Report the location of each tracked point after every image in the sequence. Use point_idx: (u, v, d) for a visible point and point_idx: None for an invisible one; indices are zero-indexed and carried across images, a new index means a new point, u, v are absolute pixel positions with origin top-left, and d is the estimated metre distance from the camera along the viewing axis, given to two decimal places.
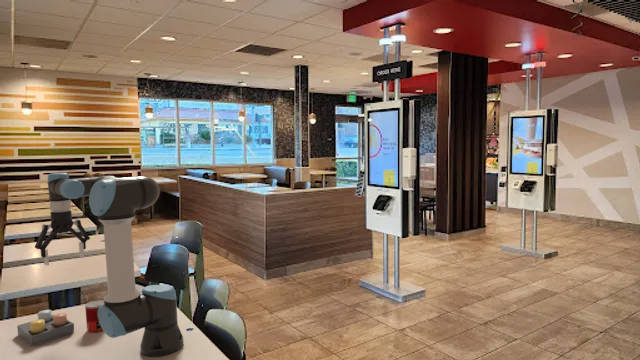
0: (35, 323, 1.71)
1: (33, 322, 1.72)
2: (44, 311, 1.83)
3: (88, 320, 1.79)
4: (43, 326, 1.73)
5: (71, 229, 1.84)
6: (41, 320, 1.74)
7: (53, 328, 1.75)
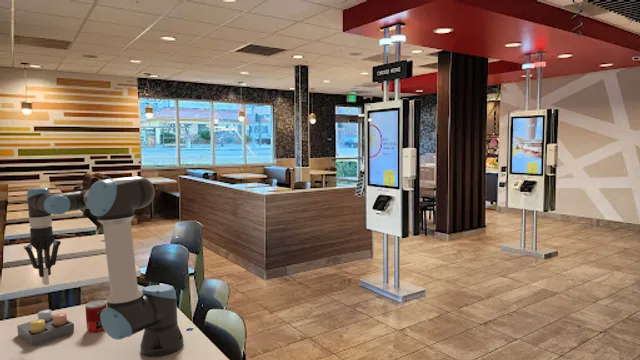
0: (35, 323, 1.71)
1: (33, 322, 1.72)
2: (44, 311, 1.83)
3: (88, 320, 1.79)
4: (43, 326, 1.73)
5: (48, 248, 1.77)
6: (41, 320, 1.74)
7: (53, 328, 1.75)
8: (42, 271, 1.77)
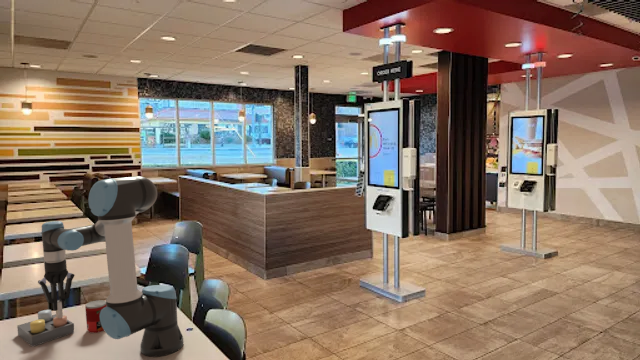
0: (35, 323, 1.71)
1: (33, 322, 1.72)
2: (44, 311, 1.83)
3: (88, 320, 1.79)
4: (43, 326, 1.73)
5: (62, 281, 1.77)
6: (41, 320, 1.74)
7: (53, 328, 1.75)
8: (56, 305, 1.77)
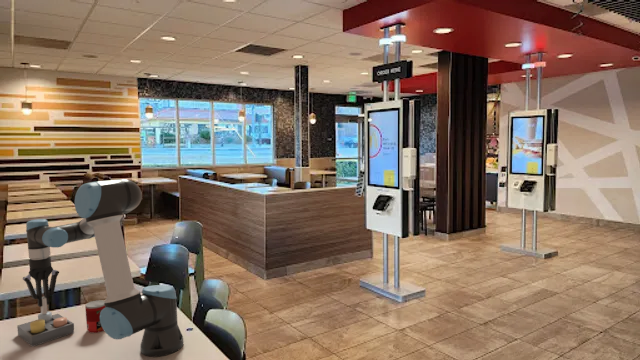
0: (35, 323, 1.71)
1: (33, 322, 1.72)
2: None
3: (88, 320, 1.79)
4: (43, 326, 1.73)
5: (46, 278, 1.81)
6: (41, 320, 1.74)
7: (53, 328, 1.75)
8: (41, 301, 1.81)
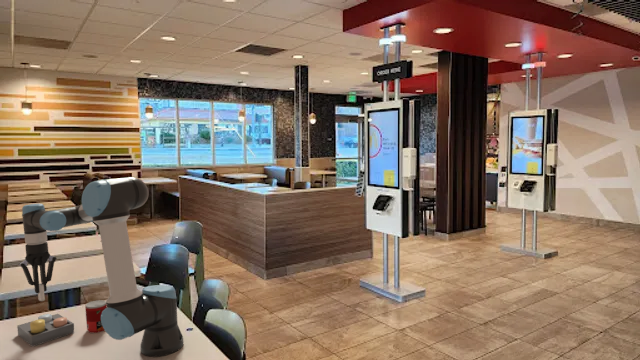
0: (35, 323, 1.71)
1: (33, 322, 1.72)
2: (44, 316, 1.83)
3: (88, 320, 1.79)
4: (43, 326, 1.73)
5: (43, 264, 1.77)
6: (41, 320, 1.74)
7: (53, 328, 1.75)
8: (38, 287, 1.77)
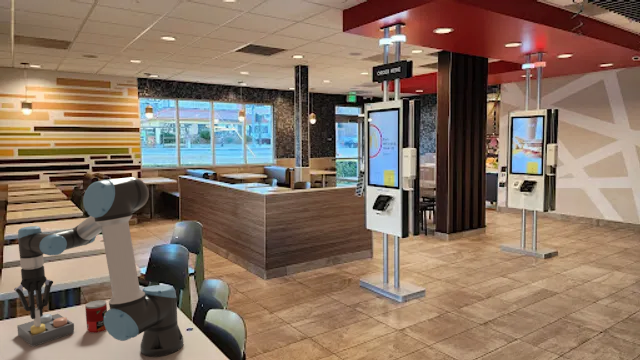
0: (35, 328, 1.71)
1: (33, 326, 1.72)
2: (44, 316, 1.83)
3: (88, 320, 1.79)
4: (43, 330, 1.73)
5: (39, 288, 1.71)
6: (41, 324, 1.74)
7: (53, 328, 1.75)
8: (33, 313, 1.71)
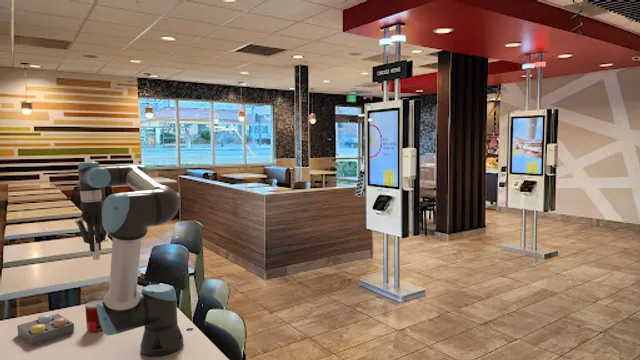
0: (35, 328, 1.71)
1: (33, 327, 1.72)
2: (44, 316, 1.83)
3: (88, 320, 1.79)
4: (43, 331, 1.73)
5: (98, 222, 1.76)
6: (41, 325, 1.74)
7: (53, 328, 1.75)
8: (93, 246, 1.76)
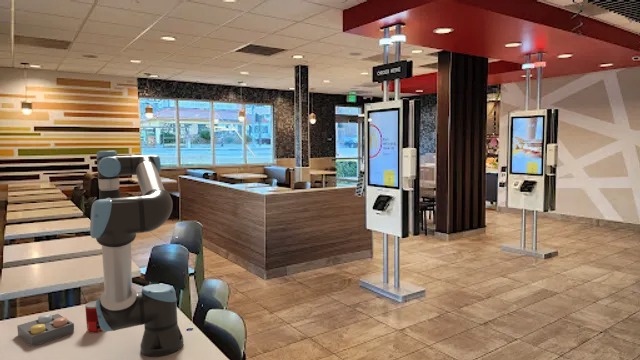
0: (35, 328, 1.71)
1: (33, 327, 1.72)
2: (44, 316, 1.83)
3: (88, 320, 1.79)
4: (43, 331, 1.73)
5: None
6: (41, 325, 1.74)
7: (53, 328, 1.75)
8: None
